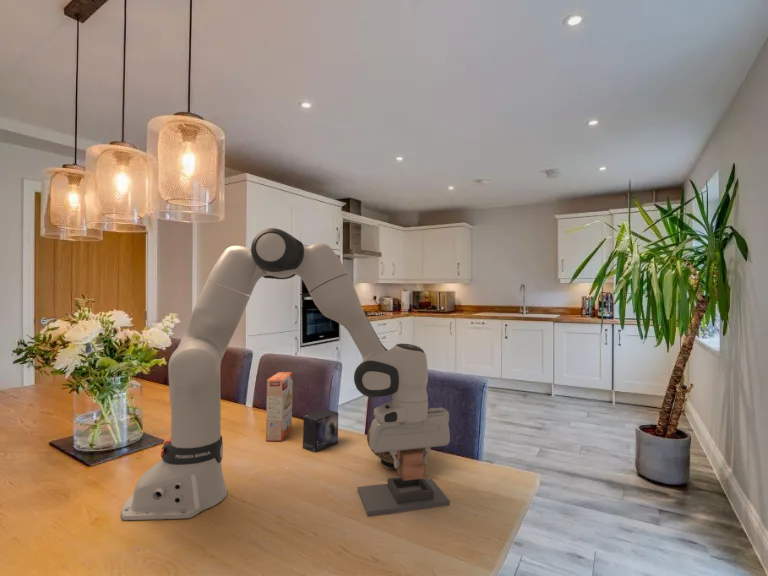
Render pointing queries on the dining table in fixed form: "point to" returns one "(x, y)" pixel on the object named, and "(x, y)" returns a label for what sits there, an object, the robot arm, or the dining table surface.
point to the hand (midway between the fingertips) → (410, 465)
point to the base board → (401, 496)
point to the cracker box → (279, 406)
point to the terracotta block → (411, 464)
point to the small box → (320, 430)
